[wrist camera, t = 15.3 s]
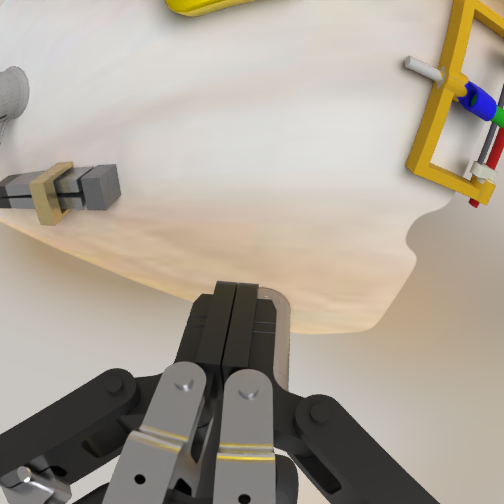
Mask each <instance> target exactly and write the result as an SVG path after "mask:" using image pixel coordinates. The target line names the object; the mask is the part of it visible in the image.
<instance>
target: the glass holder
mask: <svg viewBox="0 0 504 504" xmlns="http://www.w3.org/2000/svg"><path fill="white" fill-rule="evenodd" d="M28 98H29V83H28V79H27V76H26V74H25V73H24V71H23V70H22V69H21V68H19V67H16V66H13V67H9V68H8V69H6V70H5V71H4V72H1V73H0V122H2V121H4V120H5V121H4V123H3V125H2V128H1V131H0V144H1V140H2V136H3V132H4V128H5V125H6V122H7V121H9V120H10V119H14V118H17V117H19V116H20V115H21V114H22V113H23V111H24V110H25V108H26V106H27V103H28Z"/></svg>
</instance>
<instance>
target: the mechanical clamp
mask: <svg viewBox="0 0 504 504" xmlns="http://www.w3.org/2000/svg"><path fill="white" fill-rule="evenodd" d="M473 17H474V18H476V19H477V20H479V21H480V22H482V23H483V24H485V25H486V26H487V27H489V28H490V29H492V30H493V31H494V32H496V33H497V34H498V35H500V36H501V37H502V38H504V19H503V18H502V17H501V16H499V15H498V14H497V13H495V12H494V11H493V10H491V9H490V8H488V7H487V6H486V5H484V4H483V3H481V2H480V1H478V0H454V1H453V6H452V11H451V16H450V21H449V25H448V30H447V34H446V38H445V43H444V47H443V51H442V54H441V58H440V62H439V66H438V69H436V68H434V67H432V66H430V65H428V64H426V63H424V62H422V61H420V60H418V59H415V58H413V57H411V56H408V57H407V58H406V60H405V67H407V68H409V69H411V70H413V71H416V72H418V73H420V74H422V75H424V76H426V77H428V78H430V79H432V80H434V83H433V87H432V90H431V93H430V96H429V100H428V103H427V106H426V109H425V112H424V115H423V118H422V121H421V124H420V127H419V129H418V132H417V135H416V138H415V141H414V143H413V146H412V149H411V151H410V154H409V157H408V159H407V162H406V166H407V167H408V168H409V169H410V170H411V172H412V173H413V174H416V175H418V176H421V177H423V178H426V179H429V180H431V181H433V182H436V183H438V184H441V185H443V186H446V187H448V188H450V189H453V190H455V191H457V192H459V193H462V194H464V195H466V196H468V197H470V200H469V203H470V204H471V205H472V206H474V207H475V208H477V207H478V205H479V203H482V204H484V205H487V203H488V202H489V200H490V198H491V196H492V193H493V191H494V189H495V187H496V186H495V185H494V180H495V178H496V176H497V171H495V167H496V165H497V163H498V160H499V158H500V155H501V153H502V150H503V147H504V110H503V106H504V85H503V88H502V92H501V95H500V99H499V102H498V105H496V102H495V100H494V99H493V98H492V97H491V96H489V95H488V94H487V93H486V92H485V91H484V90H483V89H481V88H480V87H478V86H476V85H475V84H473V83H472V82H470V81H469V80H468V78H467V76H465V75H464V74H462V73H460V72H461V68H462V64H463V60H464V57H465V53H466V48H467V44H468V40H469V35H470V31H471V26H472V21H473ZM452 100H454V101H456V102H460V103H461V104H462V105H463V106H464V108H465V109H467V110H468V111H470V112H472V113H473V114H475V115H477V116H478V117H480V118H482V119H483V120H485V121H492V124H491V127H490V130H489V132H488V135H487V138H486V140H485V143H484V146H483V148H482V151H481V154H480V156H479V158H478V161H474V163H473V165H472V168H471V170H470V172H471V173H472V178H471V180H470V181H469V180H467V179H465V178H463V177H461V176H458V175H456V174H454V173H452V172H450V171H448V170H445V169H443V168H441V167H439V166H436V165H434V164H432V163H430V160H431V158H432V155H433V153H434V150H435V148H436V145H437V142H438V140H439V137H440V134H441V131H442V129H443V126H444V123H445V120H446V117H447V114H448V111H449V108H450V105H451V102H452ZM497 125H498V126H499V127H500V128H499V131H498V134H497V136H496V139H495V142H494V144H493V147H492V150H491V152H490V155H489V158H488V160H487V162H486V164H485V163H483V161H484V159H485V157H486V154H487V151H488V149H489V147H490V144H491V141H492V138H493V136H494V133H495V130H496V127H497Z"/></svg>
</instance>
